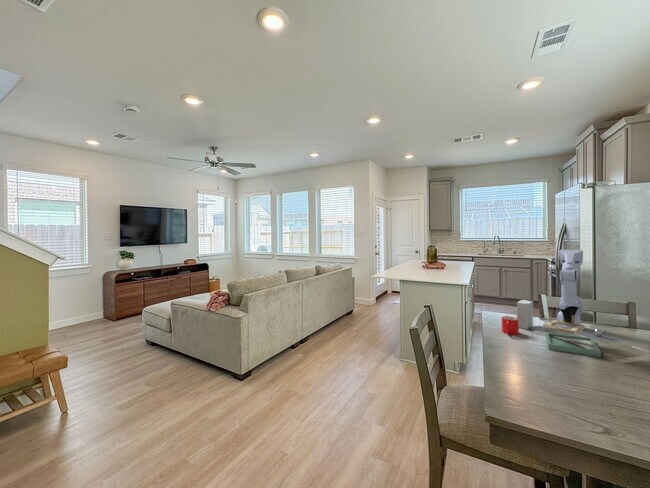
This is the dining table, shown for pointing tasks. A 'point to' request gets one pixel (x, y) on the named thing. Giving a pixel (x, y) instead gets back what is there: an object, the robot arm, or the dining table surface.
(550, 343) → the tray
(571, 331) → the tan wooden square frame
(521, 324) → the skincare box
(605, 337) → the stake board
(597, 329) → the stake
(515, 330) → the mug
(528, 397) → the dining table surface
